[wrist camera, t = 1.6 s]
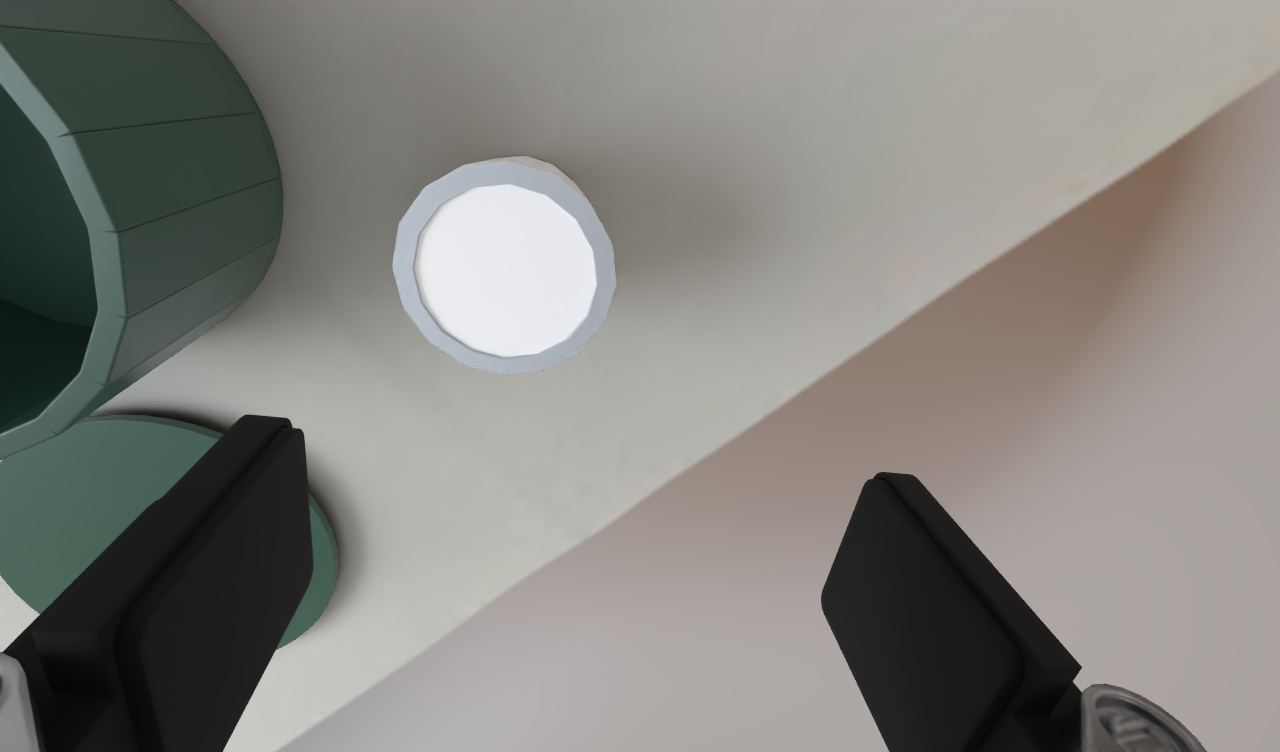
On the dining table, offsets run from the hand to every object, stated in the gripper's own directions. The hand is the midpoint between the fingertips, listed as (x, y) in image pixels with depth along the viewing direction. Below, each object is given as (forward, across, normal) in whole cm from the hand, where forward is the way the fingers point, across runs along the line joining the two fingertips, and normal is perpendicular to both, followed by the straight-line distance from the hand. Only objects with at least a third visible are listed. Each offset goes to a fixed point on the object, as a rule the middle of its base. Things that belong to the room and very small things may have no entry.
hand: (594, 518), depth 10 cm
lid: (+17, +18, +17) cm, 30 cm away
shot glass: (+18, +2, -1) cm, 18 cm away
